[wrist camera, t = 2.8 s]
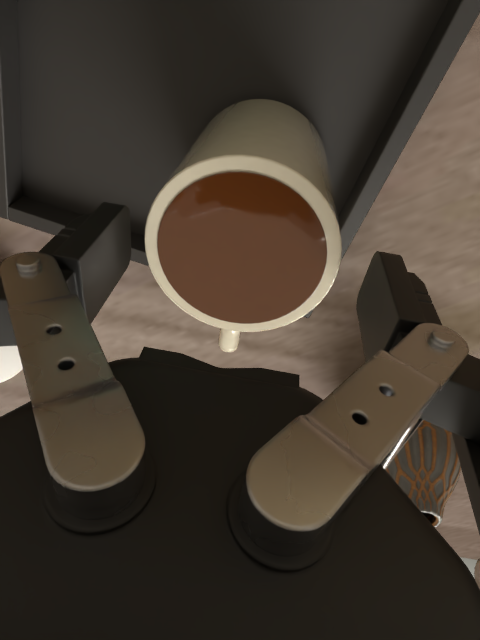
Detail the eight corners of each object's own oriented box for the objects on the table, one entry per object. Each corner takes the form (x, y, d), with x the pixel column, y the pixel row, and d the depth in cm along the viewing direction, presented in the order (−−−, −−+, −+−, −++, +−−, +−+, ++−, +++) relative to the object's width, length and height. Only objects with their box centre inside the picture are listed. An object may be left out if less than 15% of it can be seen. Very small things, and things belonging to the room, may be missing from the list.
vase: (346, 365, 28) (361, 484, 21) (452, 367, 27) (505, 492, 20) (339, 428, 32) (350, 544, 25) (431, 431, 31) (468, 553, 24)
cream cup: (197, 86, 17) (141, 136, 11) (344, 112, 17) (371, 177, 11) (186, 266, 23) (145, 366, 17) (297, 285, 23) (297, 393, 17)
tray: (16, 198, 23) (-8, 215, 21) (-15, -641, 10) (-87, -787, 8) (307, 295, 25) (308, 319, 23) (620, -291, 11) (680, -344, 10)
